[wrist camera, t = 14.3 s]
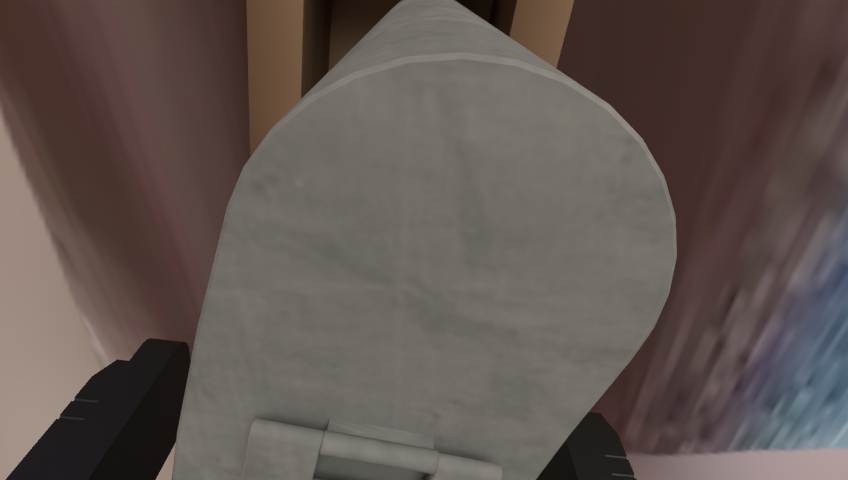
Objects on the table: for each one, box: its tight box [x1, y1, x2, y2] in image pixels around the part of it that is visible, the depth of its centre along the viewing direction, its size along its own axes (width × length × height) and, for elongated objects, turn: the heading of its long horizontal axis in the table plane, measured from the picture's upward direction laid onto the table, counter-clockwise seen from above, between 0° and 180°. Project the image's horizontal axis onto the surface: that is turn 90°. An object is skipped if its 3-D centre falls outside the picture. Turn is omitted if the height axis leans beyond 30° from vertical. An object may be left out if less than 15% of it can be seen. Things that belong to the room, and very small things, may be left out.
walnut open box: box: [246, 0, 574, 157], centre depth 20 cm, size 12×24×6 cm, turn 172°
